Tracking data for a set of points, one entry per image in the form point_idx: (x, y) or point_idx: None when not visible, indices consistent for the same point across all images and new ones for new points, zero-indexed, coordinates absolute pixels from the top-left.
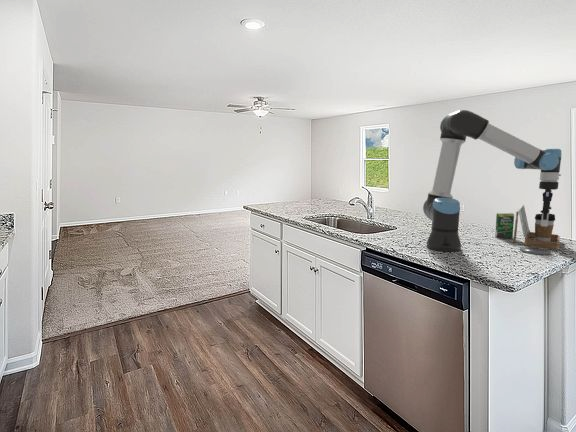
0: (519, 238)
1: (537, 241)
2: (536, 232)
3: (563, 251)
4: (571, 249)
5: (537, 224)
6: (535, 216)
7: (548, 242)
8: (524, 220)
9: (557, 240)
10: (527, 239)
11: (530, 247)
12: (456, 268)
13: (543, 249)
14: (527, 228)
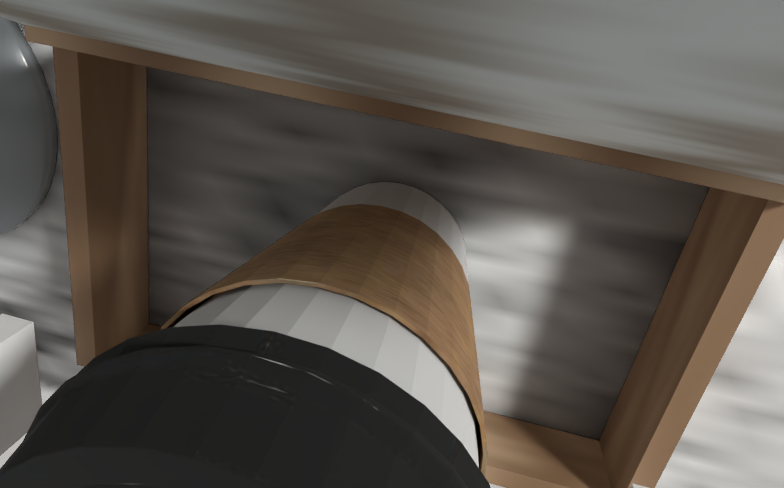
0: None
1: (71, 173)
2: (291, 232)
3: None
4: None
5: (191, 302)
6: (164, 385)
7: (78, 285)
8: (197, 8)
9: None
10: (56, 50)
11: (9, 72)
12: None
13: (4, 195)
14: (561, 129)
